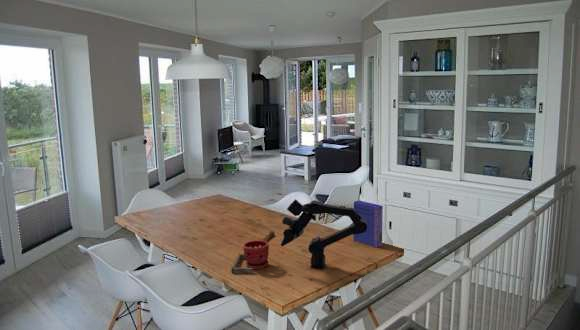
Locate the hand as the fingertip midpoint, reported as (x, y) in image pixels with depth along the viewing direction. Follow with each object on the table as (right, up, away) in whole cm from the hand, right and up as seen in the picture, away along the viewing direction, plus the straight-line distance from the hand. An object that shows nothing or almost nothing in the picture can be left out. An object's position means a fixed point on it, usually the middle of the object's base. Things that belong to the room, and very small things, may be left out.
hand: (284, 244), depth 240 cm
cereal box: (+48, -5, +33) cm, 59 cm away
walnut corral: (-19, -12, +3) cm, 23 cm away
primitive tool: (-11, -5, +41) cm, 43 cm away
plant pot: (-14, -12, +2) cm, 19 cm away
